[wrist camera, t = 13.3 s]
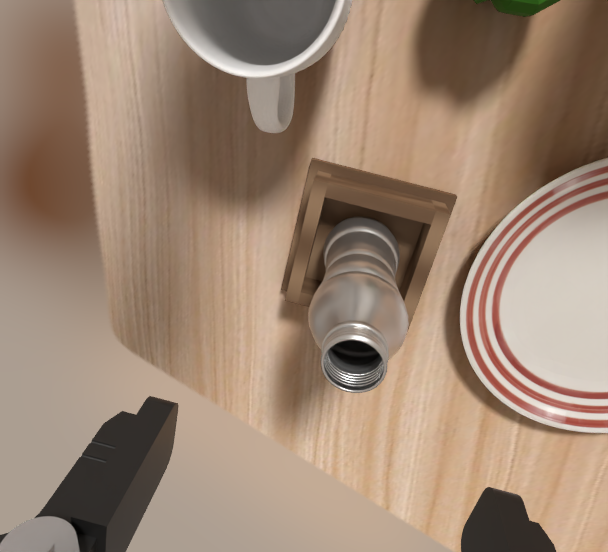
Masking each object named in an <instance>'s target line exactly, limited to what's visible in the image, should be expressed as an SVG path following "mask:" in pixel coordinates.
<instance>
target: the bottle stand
mask: <svg viewBox="0 0 608 552" xmlns="http://www.w3.org/2000/svg"><path fill="white" fill-rule="evenodd" d="M456 199H457V196H456V195H455V194H451V193H447V192H443V191H439V190H436V189H432V188H428V187H424V186H420V185H416V184H412V183H408V182H405V181H401V180H397V179H393V178H389V177H385V176H381V175H377V174H373V173H370V172H366V171H362V170H358V169H354V168H350V167H346V166H342V165H339V164H335V163H331V162H327V161H323V160H319V159H315V158H312V159H311V164H310V168H309V172H308V177H307V181H306V185H305V189H304V194H303V198H302V202H301V207H300V211H299V215H298V220H297V224H296V228H295V232H294V237H293V241H292V245H291V250H290V254H289V258H288V263H287V267H286V271H285V275H284V280H283V284H282V288H281V290H284V291H287V294H286V298H285V301H289V302H293V303H296V304H300V305H304V306H308V307H310V304H311V301H312V298H313V296H314V294H315V292H316V291H317V289H318V288H319V286H320V284H321V283H322V281H323V279H324V276H325V273H326V267H325V264H324V255H323V249H324V244H325V240H326V238H327V236H328V235H329V233H330V232H331V231H332V230H333V228H334V227H335V226H336V225H337V224H339V223H340V222H342V221H343V220H345V219H348V218H351V217H357V216H364V217H370V218H373V219H376V220H378V221H379V222H381V223H383V224H384V225H385V226H386V227H387V228H388V229H389V230H390V232H391V233H392V234H393V235H394V237H395V239H396V241H397V243H398V246H399V252H400V258H399V264H398V269H397V271H396V274H395V281H396V285H397V288H398V290H399V292H400V294H401V297H402V299H403V301H404V303H405V307H406V310H407V314H408V322H409V326H410V324H411V321H412V318H413V315H414V313H415V310H416V307H417V305H418V302H419V299H420V296H421V294H422V291H423V288H424V286H425V283H426V280H427V278H428V275H429V272H430V269H431V267H432V264H433V261H434V259H435V256H436V253H437V250H438V248H439V245H440V242H441V240H442V237H443V234H444V232H445V229H446V226H447V223H448V221H449V218H450V215H451V212H452V210H453V207H454V204H455V202H456ZM409 326H408V329H409ZM407 332H408V331H407Z"/></svg>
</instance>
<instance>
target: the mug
mask: <svg viewBox="0 0 608 552" xmlns="http://www.w3.org/2000/svg"><path fill="white" fill-rule="evenodd" d="M163 4H164V6H165V9H166V11H167V14H168V16H169V18H170V20H171V22H172V24H173V25H174V27H175V29H176V30H177V32H178V34H179V35H180V36H181V38H182V39H183V40H184V41H185V43H186V44H187V45H188V46H189V47H190V48H191V49H192V50H193V51H194V52H195V53H196V54H197V55H198V56H199V57H201V58H202V59H203V60H205V61H206V62H207V63H209V64H210V65H212V66H214V67H215V68H217V69H219V70H221V71H223V72H226V73H228V74H231V75H235V76H239V77H244V78H247V80H246V82H247V95H248V101H249V106H250V110H251V114H252V117H253V120H254V122H255V124H256V126H257V127H258V128H259V129H260V130H262V131H264V132H268V133H280V132H283V131H284V130H286V129H287V127H288V126H289V124H290V122H291V119H292V116H293V110H294V99H295V73H297V72H299V71H301V70H304V69H306V68H307V67H309V66H311V65H313V64H314V63H315V62H317V61H318V60H320V59H321V57H323V56H324V55H325V54H326V53H327V52H328V51H329V50H330V49H331V47H332V46H333V45H334V44H335V42H336V40H337V39H338V38H339V36H340V33H341V32H342V31H343V29H344V25H345V23H346V22H347V18H348V15H349V13H350V8H351V5H352V0H163Z"/></svg>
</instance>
